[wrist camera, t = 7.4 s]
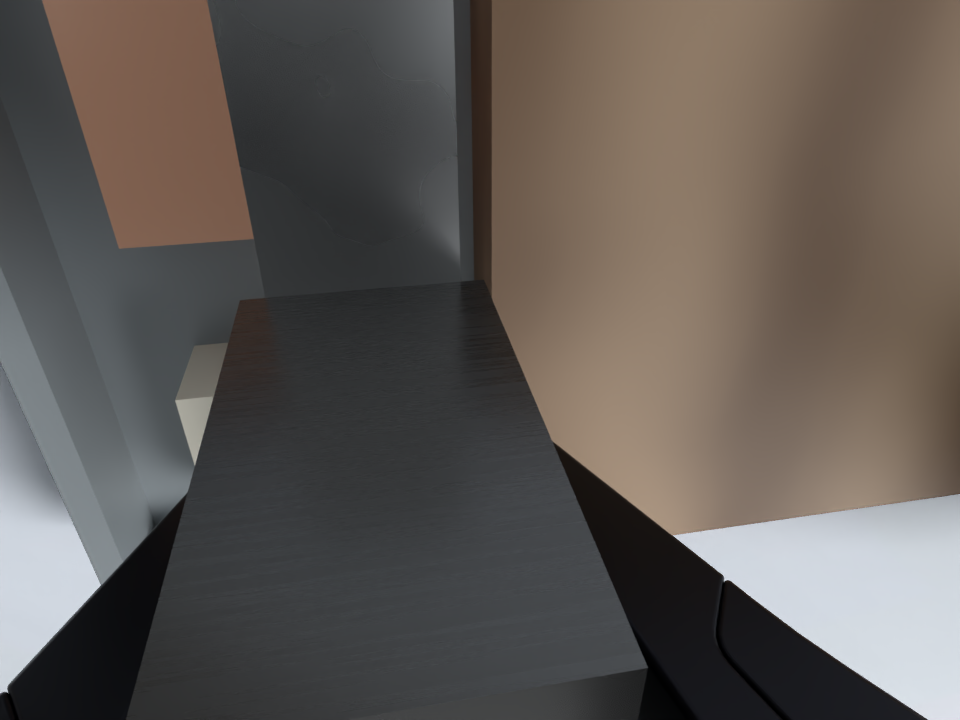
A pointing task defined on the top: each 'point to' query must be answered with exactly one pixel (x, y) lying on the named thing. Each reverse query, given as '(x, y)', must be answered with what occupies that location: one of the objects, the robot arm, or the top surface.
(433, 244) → the scraper
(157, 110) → the tile terracotta
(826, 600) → the top surface
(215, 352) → the tile cream
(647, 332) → the board
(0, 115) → the tray
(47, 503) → the top surface
